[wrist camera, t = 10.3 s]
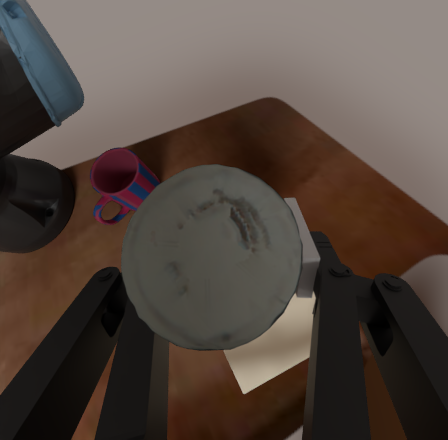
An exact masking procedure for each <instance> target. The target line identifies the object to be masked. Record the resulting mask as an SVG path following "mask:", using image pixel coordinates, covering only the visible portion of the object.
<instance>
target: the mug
mask: <svg viewBox="0 0 448 440" xmlns="http://www.w3.org/2000/svg"><path fill="white" fill-rule="evenodd" d="M90 180H91V184H92V186H93V188H94V189H95V190H96V191H97V192H98V193H100V194H102V195H103V197H102V198H101V199H100V200H99V201H98V203H97V204H96V206H95V208H94V212H93V214H94V217H95V219H96V220H97V221H99V222H100V223H102V224H106V225H114V224H116V223H117V222H119V221H120V220H121V219H122V218H123V217H124V216H125V215H126V214H127V213H128V211H129V210H133V211H136V210H137V209H138V207H139V206H140V204H141V203H142V202H143V201H144V199H145V198H146V197H147V196H148V195H149V194H150V193H151V192H152V191H153V190H154V189H155V187H156V186H157V185H159V184H160V181H159V179H158V177H157V176H156V175H155V174H154V173H153V172H152V171H151V170H150V169H149V168H148V167H147V166H146V165H145V164H144V163H143V162H142V161H141V160H140V159H139V158H138V157H137V156H136V154H135V153H134V152H132V151H131V150H129V149H126V148H114V149H110V150H108V151H106V152H104V153H103V154H102V155H100V156H99V157H98V158H97V159H96V161H95V162H94V164H93V166H92V169H91V173H90ZM112 200H113V201H115V202H117V203H118V204H120V205H122V206H123V207H122V209H121V211H120V212H119V213H118V214H117V215H116V216H115V217H114V218H113V219H111V220H103V219H102V217H101V211H102V209H103V207H104V206H105V205H106V204H107V203H108V202H110V201H112Z"/></svg>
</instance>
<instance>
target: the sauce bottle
mask: <svg viewBox="0 0 448 440" xmlns="http://www.w3.org/2000/svg"><path fill="white" fill-rule="evenodd" d="M302 257H303V244H302V241H301V238H300V235H299V229H298V225H297V222H296V219H295V217H294V214H293V212H292V210H291V208H290V207H289V206H288V204H287V203H286V202H285V200H284V199H282V198H281V196H280V195H279V194H278V193H277V192H276V191H275V190H274V189H272V188H271V187H270V186H269V185H268V184H267V183H265V182H264V181H263V180H262V179H260V178H259V177H257V176H255V175H253V174H251V173H248V172H246V171H244V170H241V169H238V168H234V167H226V166H222V165H218V164H213V165H201V166H196V167H193V168H189V169H186V170H183V171H181V172H180V173H178V174H176V175H174V176H172V177H170V178H169V179H167V180H166V181H164V182H162V183H160V184H159V185H157V186H156V187H155V189H154V190H153V191H152V192H151V193H150V194H149V195H148V196H147V197H146V198H145V199H144V201H143V202H142V203H141V204H140V206H139V207H138V209H137V210H136V212H135V213H134V215H133V216H132V218H131V220H130V222H129V224H128V227H127V232H126V234H125V237H124V239H123V247H122V257H121V270H122V277H123V281H124V284H125V288H126V292H127V295H128V297H129V299H130V301H131V302H132V303H133V305H134V306H135V309H136V312H137V314H138V317H139V318H140V319H142V320H143V321H144V322H146V324H147V325H148V326H149V328H150V329H151V330H152V331H154V332H155V333H156V334H158V335H159V336H161V337H162V338H164V339H165V340H167V341H169V342H171V343H173V344H174V345H176V346H180V347H183V348H186V349H192V350H231V349H234V348H236V347H239V346H242V345H244V344H247V343H249V342H251V341H252V340H254V339H256V338H258V337H260V336H261V335H262V334H263V333H265V332H266V331H267V330H268V329H269V328H270V327H272V325H273V324H274V323H275V322H276V321H277V320H278V318H279V317H280V316H281V315H282V314H283V313H284V312H285V310H286V308H287V306H288V304H289V302H290V300H291V299H292V297H293V296H294V294H295V293H296V289H297V286H298V284H299V280H300V277H301V273H302V269H303V265H302Z"/></svg>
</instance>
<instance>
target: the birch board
mask: <svg viewBox="0 0 448 440" xmlns="http://www.w3.org/2000/svg"><path fill="white" fill-rule="evenodd" d="M315 299H316V297H315V294H314V291H313V295H312V298H297V296H296V293H295V294H294V296H293V297H292V299H291V300H290V302H289V304H288V306H287V308H286V310H285V312H284V313H283V314H282V315H281V316H280V317H279V318H278V320H277V321H276V322H275V323H274V324H273V325H272V327H270V328H269V329H268V330H267V331H266V332H265V333H263V334H262V335H261V336H260V337H258V338H256V339H254V340H252V341H251V342H249V343H247V344H244V345H242V346H239V347H236V348H234V349H231V350H223V351H224V353H225V355H226V358H227V360H228V362H229V364H230V366H231V368H232V370H233V373H234V375H235V377H236V379H237V381H238V383H239V385H240V388H241V390H242V392H243V394H245V393H247V392H249V391H251V390H252V389H254V388H256V387H258V386H259V385H261V384H263V383H265V382H266V381H268V380H270V379H272V378H273V377H275V376H277V375H279V374H280V373H282V372H284V371H286V370H287V369H289V368H291V367H293V366H294V365H296V364H298V363H300V362H301V361H303V360H305V359H307V358H308V357H310V346H311V335H312V324H313V314H312V312H313V308H314V304H315Z"/></svg>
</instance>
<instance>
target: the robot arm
mask: <svg viewBox="0 0 448 440" xmlns="http://www.w3.org/2000/svg"><path fill="white" fill-rule="evenodd" d="M83 103H84V94H83V91H82V88H81V86H80V84H79V82H78V80H77V78H76V77H75V75H74V73H73V72H72V70H71V68H70V66H69V65H68V63H67V62H66V60H65V58H64V57H63V55H62V54H61V52H60V51H59V49H58V48H57V46H56V44H55V43H54V41H53V40H52V38H51V37H50V35H49V34H48V32H47V31H46V29H45V27H44V26H43V24H42V23H41V22H40V20H39V19H38V17H37V16H36V14H35V13H34V11H33V10H32V8H31V7H30V5H29V4H28V3H27V1H26V0H0V251H2V252H11V253H27V252H32V251H35V250H37V249H40V248H42V247H43V246H45V245H47V244H48V243H49V242H51V241H52V240H53V239H54V238H55V237H56V236H57V235H58V234H59V233H60V232H61V231H62V229H63V228H64V227H65V225H66V223H67V221H68V220H69V217H70V215H71V212H72V209H73V204H74V190H73V186H72V183H71V181H70V179H69V178H68V176H67V175H66V174H65V173H64V172H63V171H61V170H60V169H58V168H56V167H54V166H53V165H51V164H49V163H47V162H44V161H41V160H37V159H28V158H24V157H20V156H16V155H12V154H10V153H11V152H13V151H14V150H16V149H18V148H19V147H21V146H23V145H24V144H26V143H28V142H29V141H31V140H32V139H34V138H36V137H37V136H39V135H41V134H42V133H44V132H45V131H47V130H49V129H50V128H52V127H54V126H55V125H56V126H57V127H59V126H60V125H61V122H62V121H64V120H65V119H66V118H68V117H69V116H71V115H72V114H74V113H75V112H77V111H78V110H79V109H80V108H81V107H82V106H83ZM284 200H285V202H286V203H287V204H288V206H289V207H290V208H291V210H292V212H293V214H294V217H295V219H296V222H297V225H298V229H299V235H300V238H301V241H302V244H303V257H302V265H303V269H302V273H301V277H300V280H299V284H298V286H297V289H296V296H297V298H312V295H313V291H314V294H315V297H316V299H315V304H314V308H313V312H312V314H313V324H312V335H311V346H310V357H309V368H308V379H307V390H306V401H305V412H304V423H303V434H302V440H371V435H370V427H369V416H368V407H367V397H366V387H365V378H364V368H363V359H362V349H361V340H360V330H359V321H360V323H361V325H362V328H363V330H364V333H365V335H366V338H367V340H368V343H369V345H370V348H371V350H372V353H373V355H374V358H375V360H376V362H377V365H378V368H379V370H380V372H381V375H382V377H383V380H384V382H385V385H386V387H387V390H388V392H389V395H390V397H391V400H392V402H393V405H394V407H395V410H396V412H397V415H398V417H399V420H400V422H401V425H402V427H403V430H404V432H405V435H406V437H407V440H448V337H447V336H446V334H445V333H444V332H443V330H442V329H441V328H440V326H439V325H438V323H437V322H436V321H435V319H434V318H433V317H432V315H431V314H430V313H429V311H428V310H427V308H426V307H425V306H424V304H423V303H422V302H421V300H420V299H419V298H418V296H417V295H416V294H415V292H414V291H413V289H412V288H411V287H410V285H409V284H408V283H407V282H406V281H404V280H403V279H401V278H399V277H397V276H394V275H392V274H386V273H383V274H378V275H376V276H375V278H374V280H373V279H369V278H365V277H361V276H357V275H355V274H353V272H352V270H351V269H350V268H349V267H347V266H345V265H344V264H341V262H340V260H339V258H338V256H337V254H336V252H335V251H334V249H333V248H332V245H331V243H330V241H329V239H328V237H327V236H326V235H325V234H323V233H322V232H309V230H308V228H307V225H306V223H305V221H304V218H303V216H302V213H301V211H300V209H299V206H298V204H297V202H296V199H295V198H284ZM117 341H118V342H117ZM116 343H117V346H116V351H115V355H114V359H113V363H112V368H111V372H110V376H109V380H108V385H107V389H106V393H105V397H104V402H103V406H102V410H101V414H100V419H99V423H98V427H97V431H96V436H95V440H167V413H168V369H169V341H167V340H165V339H164V338H162V337H161V336H159V335H158V334H156V333H155V332H154V331H152V330H151V329H150V328H149V326H148V325H147V324H146V322H144V321H143V320H142V319H140V318H139V317H138V314H137V312H136V309H135V306H134V305H133V303H132V302H131V301H130V299H129V297H128V295H127V292H126V288H125V284H124V281H123V277H122V272H121V273H120V271H119V269H118V268H116V267H106V268H104V269H101V270H100V271H98V272H97V273H96V274H94V275H93V277H92V278H91V279H90V280H89V282H88V283H87V284H86V286H85V287H84V288H83V289H82V291H81V292H80V293H79V295H78V296H77V297H76V298H75V300H74V301H73V302H72V304H71V305H70V306H69V307H68V309H67V310H66V311H65V313H64V314H63V315H62V316H61V318H60V319H59V320H58V322H57V323H56V324H55V325H54V327H53V328H52V329H51V331H50V332H49V333H48V334H47V336H46V337H45V338H44V340H43V341H42V342H41V344H40V345H39V346H38V347H37V349H36V350H35V351H34V353H33V354H32V355H31V356H30V358H29V359H28V360H27V362H26V363H25V364H24V365H23V367H22V368H21V369H20V371H19V372H18V373H17V374H16V376H15V377H14V378H13V380H12V381H11V382H10V383H9V385H8V386H7V387H6V389H5V390H4V391H3V392H2V394H1V395H0V440H71V438H72V436H73V434H74V432H75V430H76V428H77V426H78V424H79V422H80V419H81V417H82V415H83V413H84V411H85V409H86V407H87V405H88V402H89V400H90V398H91V396H92V394H93V392H94V390H95V388H96V386H97V383H98V381H99V379H100V377H101V375H102V373H103V371H104V369H105V367H106V364H107V362H108V360H109V358H110V356H111V354H112V352H113V350H114V347H115V345H116Z"/></svg>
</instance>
